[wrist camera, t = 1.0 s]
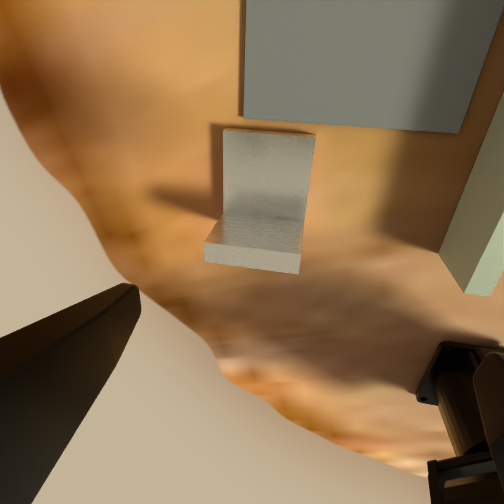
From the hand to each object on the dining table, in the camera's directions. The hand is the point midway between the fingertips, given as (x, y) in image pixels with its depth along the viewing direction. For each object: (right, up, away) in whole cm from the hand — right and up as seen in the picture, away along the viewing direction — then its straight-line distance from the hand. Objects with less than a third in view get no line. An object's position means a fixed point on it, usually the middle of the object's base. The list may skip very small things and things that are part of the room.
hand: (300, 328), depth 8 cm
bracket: (0, +6, +11) cm, 13 cm away
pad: (+4, +12, +6) cm, 14 cm away
